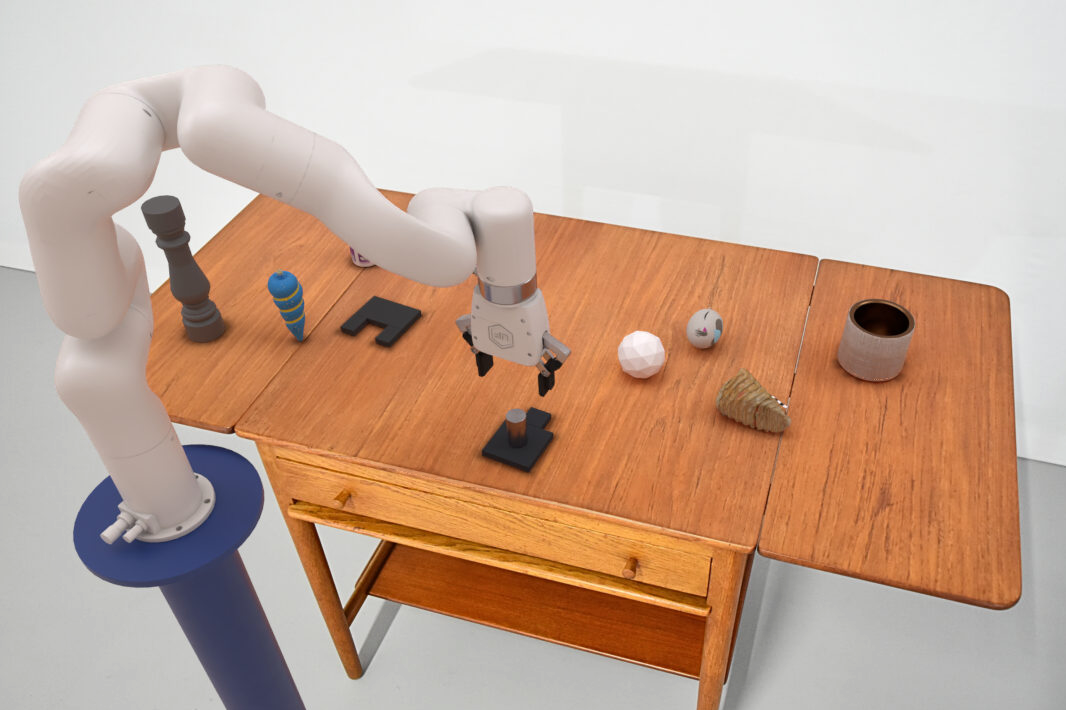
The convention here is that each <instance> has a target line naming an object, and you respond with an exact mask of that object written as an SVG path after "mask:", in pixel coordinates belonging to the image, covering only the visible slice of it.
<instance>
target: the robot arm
mask: <svg viewBox="0 0 1066 710" xmlns="http://www.w3.org/2000/svg"><path fill="white" fill-rule="evenodd" d="M266 103H267V102H266V96H265V94H264V91H263V89H262V87H261V86H260V84H259V83H258V82H257V81H256V80H255V78H253V77H252V76H251V75H250V74H249V73H248V72H245V71H244V70H242V69H239V68H238V67H234V66H231V65H224V64H206V65H198V66H193V67H186V68H183V69H182V68H181V69H177V70H173V71H169V72H164V73H159V74H154V75H150V76H149V75H148V76H145V77H140V78H136V79H131V80H126V81H121V82H118V83H113V84H110V85H108V86H107V85H106V86H105V87H103V88H101V89H99V90H97V91H96V92H93V94H91V95H90V97H88V99H87V100H86V101H85V103H84V104H83V106H82V107H81V109H80V111H79V113H78V116H77V118H76V121H75V122H74V125H73V127H72V129H71V131H70V132H69V135H68V137H67V138H66V141H65V142H64V143H63V144H62V145H61V146H60V147H58V148H57V149H55V150H54V151H53V152H50V153H49V154H47V155H46V156H44V157H42V158H41V159H39V160H37V161H35V162H34V163H33V164H32V165H30V167H29V168H28V169H27V170H26V172H25V173H24V175H23V176H22V177H21V180H20V182H19V186H18V203H19V208H20V213H21V217H22V221H23V224H24V228H25V232H26V235H27V240H28V246H29V251H30V256H31V258H32V263H33V267H34V272H35V276H36V280H37V284H38V288H39V292H40V296H41V297H40V298H41V302H42V305H43V308H44V311H45V312H46V314H47V316H48V317H49V319H50V321H51V322H52V323H53V324H54V326H55V327H57V328H58V329H59V330H60V331H61V332H62V333H64V337H63V339H62V342H61V345H60V349H59V351H58V355H57V358H56V361H55V367H54V373H53V374H54V375H53V376H54V377H53V379H54V387H55V390H56V393H57V395H58V397H59V399H60V401H61V402H62V403H63V404H64V405H65V407H66V408H67V409H68V410H69V411H70V412H71V413H72V414H73V416H75V418H76V419H77V420H78V422H79V423H80V425H81V426H82V428H83V429H84V431H85V432H86V434H87V436H88V438H89V440H90V442H91V444H92V445H93V447H94V449H95V450H96V452H97V454H98V455H99V458H100V459H101V461H102V464H103V465H104V466H105V469H106V470H107V473H108V474H109V475H110V476H111V478H112V480H113V482H114V484H115V485H116V487H117V489H118V491H119V493H120V495H121V497H122V499H123V500H124V501H123V502H121V503H120V504H119V505H118V507H119V509H120V511H121V514H120V515H118V516H117V521H116V522H115V523H114V524H113V525H111V526H109V527H108V528H107V529H106V530H105V531H104V532H103V533H102V534H100V537H101V538H102V539H103V540H104V541H105V542H106V543H108V544H112V543H113V542H114V541H115V540H116V539H117V538H119V537H120V536H121V535H122V533H123V532H124V531H125V530H126V531H127V533H126V534H125V535H123V536H122V537H123V539H124V540H125V541H126V542H128V543H131V542H132V541H133V540H134V539H138V540H140V541H144V542H165V541H170V540H174V539H177V538H179V537H182V536H184V535H186V534H188V533H190V532H192V531H193V530H195V529H196V528H197V527H199V526H200V525H201V524H202V523H203V522H204V521H205V520H206V519H207V518H208V517H209V515H210V514H211V512H212V510H213V508H214V505H215V501H216V496H215V491H214V488H213V486H212V484H211V483H210V481H209V480H208V479H207V478H205V477H204V476H202V475H200V474H197V473H194V472H193V470H192V468H191V465H190V463H189V461H188V459H187V456H186V454H185V452H184V450H183V447H182V445H183V444H182V443H181V440H180V438H179V436H178V434H177V431H176V429H175V427H174V424H173V422H172V420H171V418H170V416H169V413H168V411H167V409H166V407H165V405H164V403H163V402H162V400H161V398H160V397H159V396H158V395H157V394H156V393H155V391H152V389H151V387H150V386H149V383H148V379H147V367H148V362H149V358H150V350H151V345H152V341H153V335H154V332H155V331H154V329H155V319H154V311H153V304H152V299H151V292H150V286H149V285H150V284H149V279H148V274H147V268H146V261H145V257H144V253H143V250H142V248H141V246H140V244H139V242H138V241H137V239H136V238H135V237H134V236H133V234H132V233H130V231H129V230H128V229H126V228H124V227H123V226H122V225H121V224H119V223H116V222H115V221H114V219H113V216H114V215H115V214H116V213H118V212H120V211H123V210H124V209H126V208H128V207H130V206H131V205H133V204H134V203H136V202H138V200H140V199H141V198H142V197H143V196H144V195H145V194H146V193H147V192H148V191H149V189H150V187H151V186H152V184H153V182H154V179H155V177H156V173H157V170H158V166H159V164H160V160H161V156H162V153H163V152H167V151H170V150H175V149H180V150H181V152H182V153H183V155H184V156H185V157H186V158H187V160H188V161H189V162H190V163H192V164H193V165H194V166H196V167H198V168H199V169H201V170H203V171H205V172H206V173H209V174H211V175H214V176H216V177H218V178H221V179H223V180H225V181H228V182H231V183H233V184H235V185H238V186H240V187H243V188H245V189H248V190H250V191H252V192H256V193H258V194H260V195H262V196H265V197H267V198H270V199H273V200H275V201H277V202H280V203H282V204H284V205H287V206H289V207H292V208H294V209H297V210H298V211H301V212H303V213H306V214H308V215H310V216H312V217H314V218H315V219H317V220H318V221H319V222H320V223H321V224H322V225H324V226H325V227H326V229H327V230H328V231H330V232H331V233H332V234H333V235H334V236H336V237H337V238H338V239H340V240H341V241H342V242H343V243H345V244H346V245H347V246H350V247H351V248H352V249H354V250H355V251H356V252H357V253H359V254H360V255H362V256H363V257H364V258H366V259H367V260H369V261H370V262H372V263H373V264H375V265H374V266H377V267H379V268H381V269H383V270H385V271H387V272H389V273H392V274H394V275H397V276H399V277H402V278H405V279H407V280H410V281H413V282H415V283H417V284H420V285H424V286H428V287H432V288H442V289H444V288H445V289H447V288H452V287H456V286H459V285H461V284H463V283H464V282H466V281H467V280H468V279H469V278H470V277H471V276H472V275H474V276H475V277H476V278H477V279H476V280H477V283H476V285H474V288H473V292H472V298H471V309H470V313H467V314H466V313H465V314H461V315H460V316H459V317H457V318H456V320H455V321H454V322H455V325H456V326H457V328H458V329H459V332H460V333H462V335H461V337H462V339H463V340H465V342H466V343H467V344H468V345H469V346H470V352H471V353H472V354H473V355H474V357H475V365H476V367H477V376H479V377H481V378H483V377H485V376H486V375H487V374H488V372H490V370H491V369H492V368H493V367H494V365H495V364H494V363H495V362H494V357H495V358H499V359H501V360H505V361H508V362H510V363H511V362H512V363H514V364H518V365H521V366H525V367H535V368H536V369H537V370H538V371H539V373H538V374H537V386H538V387H537V389H538V390H537V391H538V396H539V397H540V398H541V397H542V398H545V396H546V395H547V394H548V392H549V391H552V390H553V388H554V387H555V384H556V371H558V370H560V369H561V368H562V366H564V364H565V363H566V361H567V360H568V358H569V357H570V356H571V354H572V350H571V348H569V347H568V346H567V345H566V344H564V343H563V342H561V341H560V340H559V339H557V338H556V337H555V336H553V335H552V334H551V329H550V327H551V326H550V322H549V314H548V309H547V305H546V301H545V298H544V294H543V292H542V289H541V288H539V287H538V273H537V272H538V271H537V256H536V252H537V251H536V235H535V233H536V232H535V220H534V219H535V218H534V205H533V201H532V200H531V198H530V196H528V194H527V193H526V192H525V191H522V190H521V189H518V188H516V187H512V186H501V185H500V186H494V187H493V186H492V187H489V188H487V189H484V190H475V189H474V190H473V189H463V188H462V189H461V188H452V187H431V188H426V189H423V190H420V191H418V192H417V193H416V194H415V195H413V197H412V198H411V199H410V200H409V203H408V205H407V208H406V212H405V211H404V210H402V209H401V208H399V207H398V206H397V205H395V204H393V202H391V201H390V200H389V199H388V198H386V197H385V195H383V193H381V191H379V189H378V188H377V187H376V186H375V184H373V183H372V181H371V180H370V179H369V177H368V175H367V174H366V173H365V171H364V169H363V168H362V167H361V166H360V164H359V163H358V161H357V160H356V159H355V158H354V156H353V155H352V154H351V153H350V152H349V151H348V150H347V149H346V148H345V147H344V146H343V145H342V144H340V143H338V142H337V141H334V140H331V139H329V138H327V137H325V136H323V135H320V134H318V133H316V132H314V131H311V130H309V129H307V128H305V127H303V126H302V125H301V126H300V125H299V124H297V123H294V122H292V121H290V120H288V119H285V118H284V117H281V116H279V115H277V114H276V113H274V112H271V111H268V110H267V109H266V107H267V104H266ZM350 247H349V248H350ZM542 357H543V358H544V360H545V361H546V362H544V360H542Z"/></svg>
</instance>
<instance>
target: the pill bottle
mask: <svg viewBox="0 0 1066 710" xmlns="http://www.w3.org/2000/svg"><path fill="white" fill-rule="evenodd" d="M348 246H349V245H348ZM349 250H350V256H351V260H352V263H353V264H354V265H356V266H358V267H361V268H369V267H373V266H376V265H375V264H373V263H372V262H370V261H369V260H367V259H366V258H364V257H363V256H362V255H360V254H359V253H357V252H356V251H355V250H354V249H352V248H351V247H350V246H349Z"/></svg>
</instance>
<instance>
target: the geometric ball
mask: <svg viewBox="0 0 1066 710" xmlns="http://www.w3.org/2000/svg"><path fill="white" fill-rule="evenodd" d="M617 356H618V362H619V365H620V367H621V369H622V371H623V372H624V373H626V374H628V375H629V376H631V377H633V378H635V379H648V378H650V377H652V376H654V375H656V374H658V373H659V371H660V370H661V368H662V367H663V365H664V364H665V362H666V351H665V348H664V345H663V343H662V341H661V338H660V337H658V336H657V335H655V334H653V333H651V332H649V331H645V330H644V331H643V330H634V331H633V332H631V333H629V334H627V335H625V336H624V337H623V339H622V340H621V342H620V344H619V346H618V347H617Z"/></svg>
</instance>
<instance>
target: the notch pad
mask: <svg viewBox="0 0 1066 710" xmlns="http://www.w3.org/2000/svg"><path fill="white" fill-rule="evenodd" d="M421 317H423V316H422V310H421V309H418V308H414V307H411V306H409V305H405V304H402V303H399V302H396V301H392V300H390V299H387V298H383V297H381V296H376V295H373V296H372V297H371V298H370V299H369V300H367V301H366V303H364V304H363V305H362V306H360V308H359V309H358V310H357V311H356V312H355V313H353V314H352V315H351V316H350V317H349V318H348V319H347V320H346V321H344V322H343V324H342V325H340V326H339V328H340V332H341V333H343V334H347V335H350V336H353V337H356V336H357V335H358V334H359V333H360V332H361V331H362V330H363V329H364V328H365V327H366V326H367V325H368V324H369V325H373V326H375V327H377V328H381V329H383V330H381V331H380V332H379V333H378V334H377V336H375V338H374V341H375V344H377V345H379V346H383V347H385V348H389V349H390V348H391V347H392V346H393V345H394V344H395V343H396V342H397V341H398V340H399V339H400V338H401V337H402V336H403V335H404V334H405V333H406V332H407V331H408V330H409V329H410V328H411V327H412V326H413V325H414V324H415V323H416V322H417V321H418V320H419V319H420V318H421Z"/></svg>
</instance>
